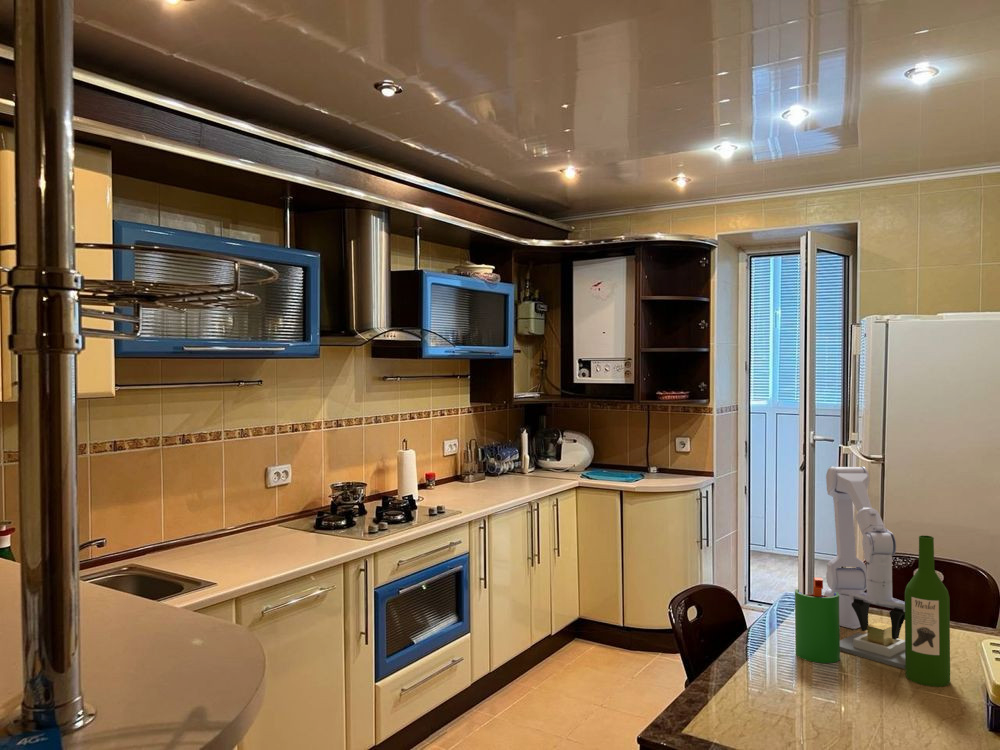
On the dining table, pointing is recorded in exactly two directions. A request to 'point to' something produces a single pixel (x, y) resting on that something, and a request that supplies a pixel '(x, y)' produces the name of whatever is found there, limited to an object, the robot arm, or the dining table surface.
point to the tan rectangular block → (880, 634)
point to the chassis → (875, 650)
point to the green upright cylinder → (817, 625)
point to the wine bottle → (927, 622)
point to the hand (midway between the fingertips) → (879, 634)
